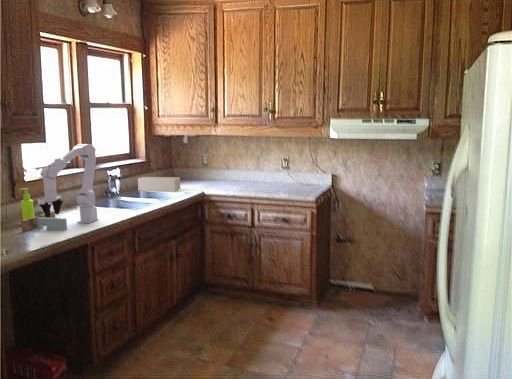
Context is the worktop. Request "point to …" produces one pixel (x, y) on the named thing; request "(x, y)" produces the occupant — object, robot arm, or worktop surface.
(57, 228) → the grey block
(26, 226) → the walnut board
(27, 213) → the soap dispenser
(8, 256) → the worktop surface
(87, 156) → the robot arm
